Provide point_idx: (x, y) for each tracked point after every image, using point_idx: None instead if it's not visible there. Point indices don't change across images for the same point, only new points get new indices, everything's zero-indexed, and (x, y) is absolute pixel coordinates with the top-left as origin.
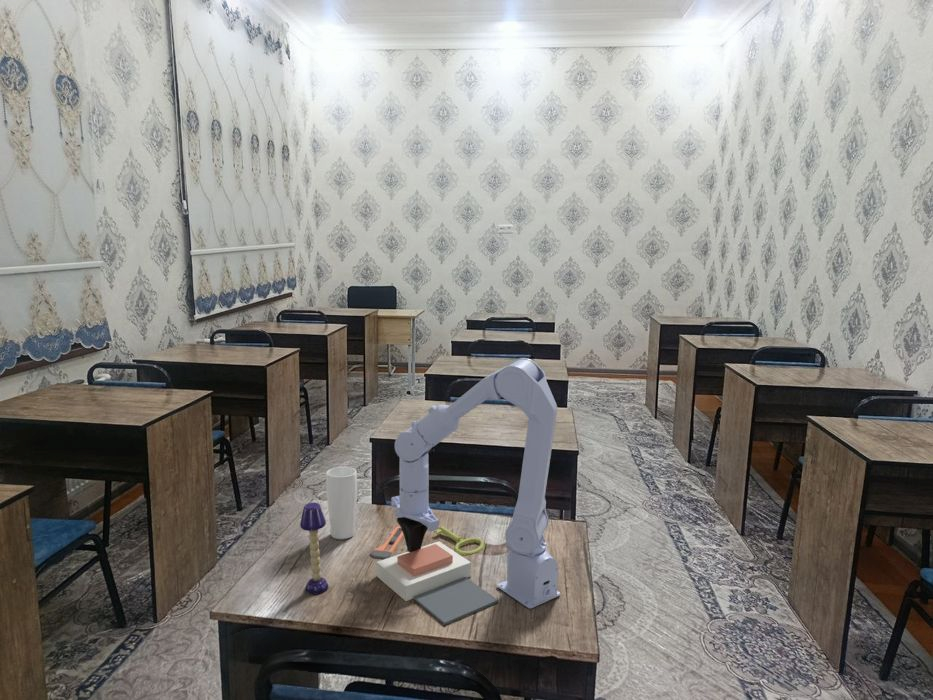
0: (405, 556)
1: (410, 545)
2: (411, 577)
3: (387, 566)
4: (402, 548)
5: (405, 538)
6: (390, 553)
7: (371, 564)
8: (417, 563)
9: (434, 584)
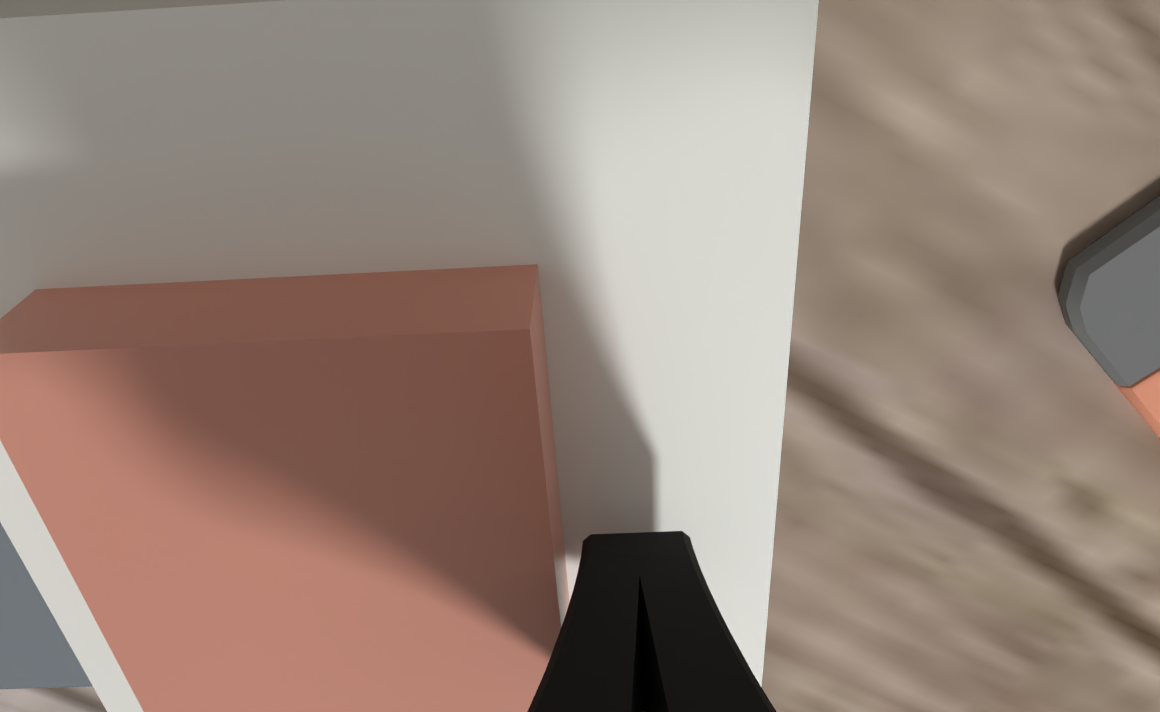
0: (458, 434)
1: (562, 641)
2: (21, 248)
3: (541, 77)
4: (1105, 513)
5: (731, 697)
6: (1111, 365)
7: (1113, 29)
8: (146, 477)
9: None
